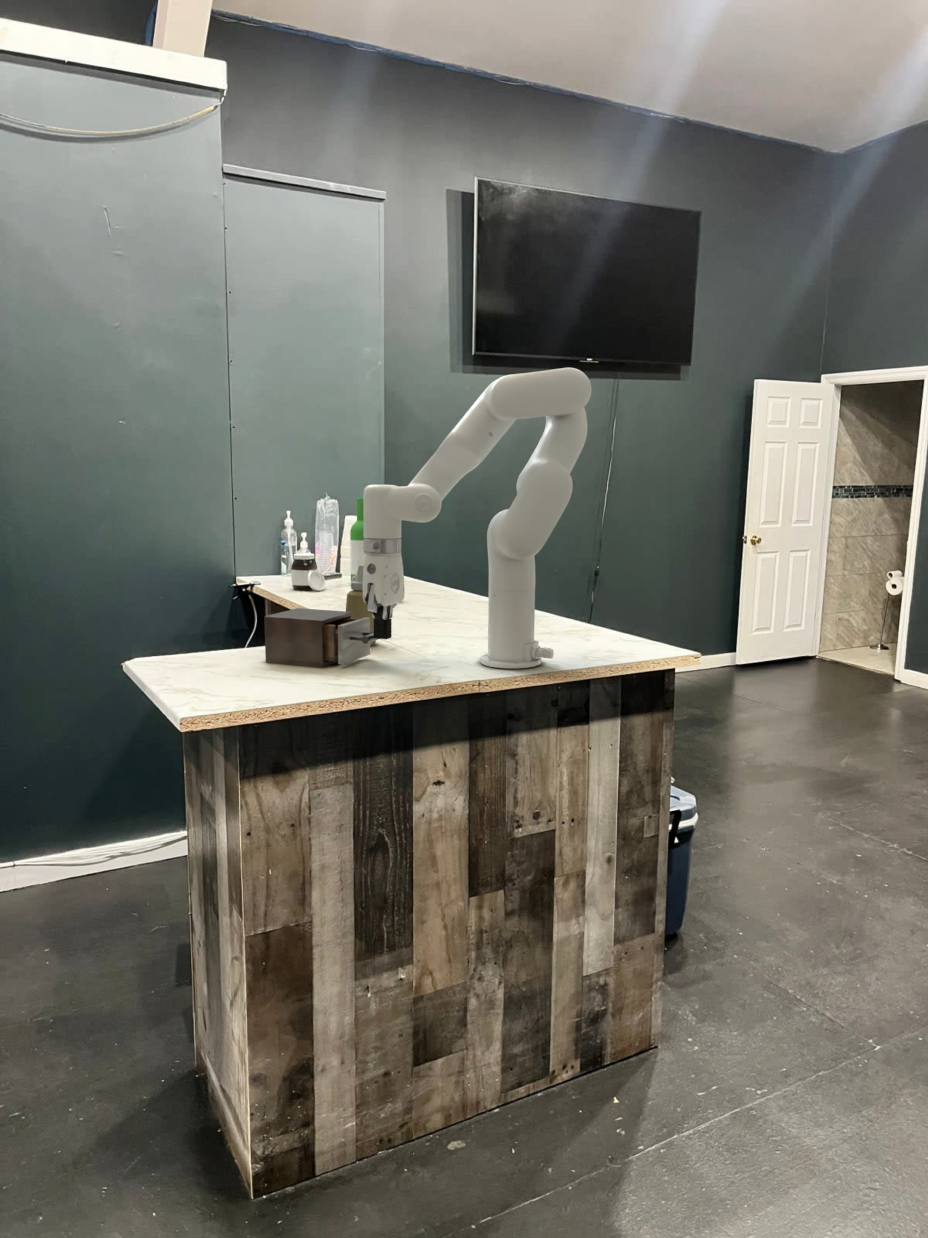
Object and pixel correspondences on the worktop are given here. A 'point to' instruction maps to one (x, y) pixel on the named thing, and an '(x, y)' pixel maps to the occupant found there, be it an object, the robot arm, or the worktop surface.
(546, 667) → the worktop surface
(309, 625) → the cabinet
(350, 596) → the squeeze bottle
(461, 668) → the worktop surface
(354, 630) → the drawer
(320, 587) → the spread jar
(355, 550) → the wine bottle
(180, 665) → the worktop surface
